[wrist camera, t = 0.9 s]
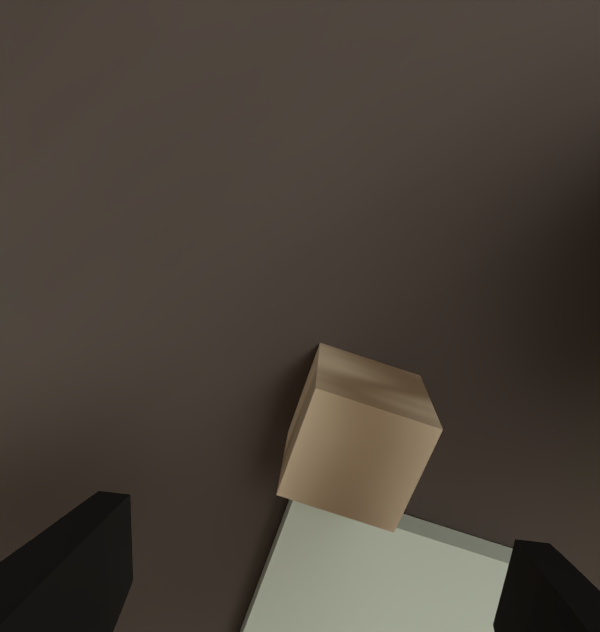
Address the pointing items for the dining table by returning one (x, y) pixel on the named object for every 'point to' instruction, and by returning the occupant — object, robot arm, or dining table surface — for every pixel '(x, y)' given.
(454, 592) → the coaster
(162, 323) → the dining table surface
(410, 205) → the dining table surface
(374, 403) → the maple block
